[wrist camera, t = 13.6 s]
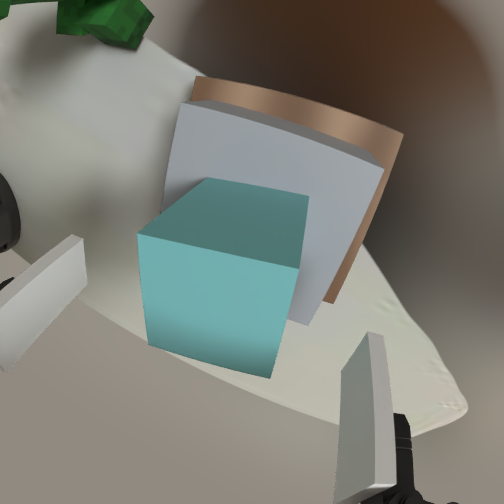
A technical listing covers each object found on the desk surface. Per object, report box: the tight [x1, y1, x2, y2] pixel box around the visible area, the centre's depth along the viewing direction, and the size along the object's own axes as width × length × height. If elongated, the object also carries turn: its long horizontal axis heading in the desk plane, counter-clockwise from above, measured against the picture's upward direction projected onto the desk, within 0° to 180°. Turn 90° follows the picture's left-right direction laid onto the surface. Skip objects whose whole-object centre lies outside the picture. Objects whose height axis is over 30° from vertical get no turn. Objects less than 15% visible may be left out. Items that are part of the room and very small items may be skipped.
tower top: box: [160, 100, 384, 326], centre depth 21 cm, size 12×12×6 cm
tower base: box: [191, 76, 404, 304], centre depth 26 cm, size 16×16×6 cm
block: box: [137, 177, 309, 379], centre depth 16 cm, size 6×6×8 cm
